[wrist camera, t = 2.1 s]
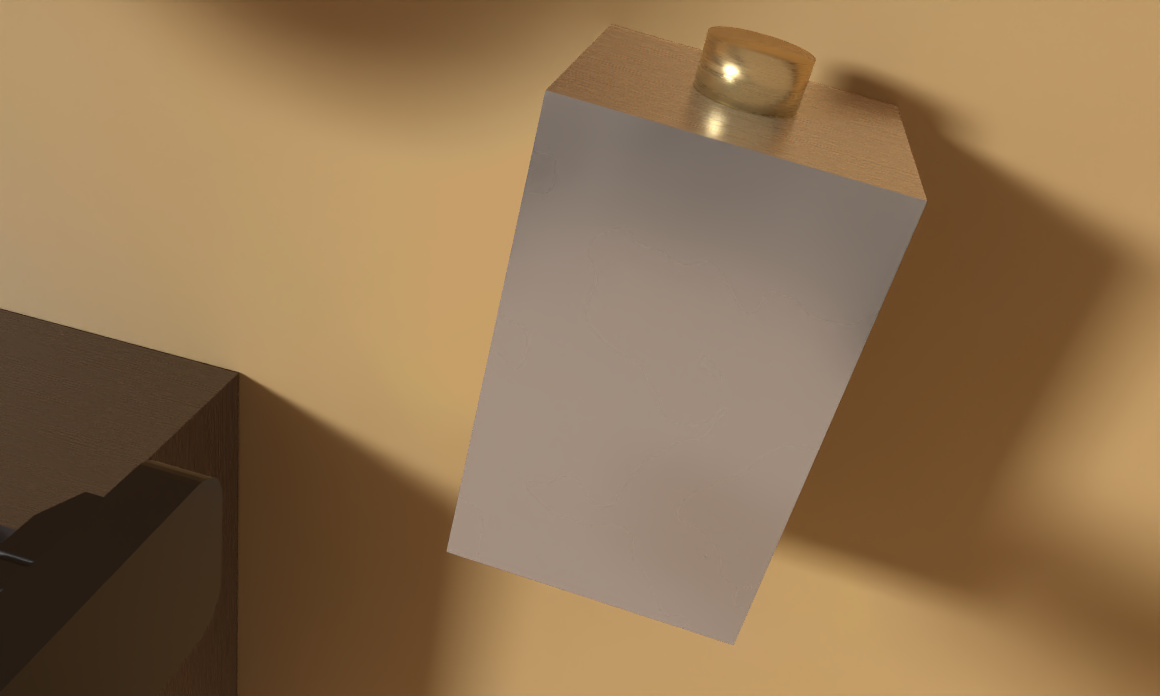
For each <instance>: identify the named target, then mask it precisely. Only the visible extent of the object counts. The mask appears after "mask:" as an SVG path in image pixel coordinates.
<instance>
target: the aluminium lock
mask: <svg viewBox="0 0 1160 696" xmlns="http://www.w3.org/2000/svg"><path fill="white" fill-rule="evenodd" d="M815 61H816V59H815V57H814V56H813V55H812V54H811V53H809V52H807V51H806V50H804V49H802V48H800V47H798V46H796V45H793V44H791V43H789V42H786V41H783V40H780V39H778V38H775V37H771V36H768V35H765V34H761V33H757V32H753V31H749V30H744V29H739V28H733V27H722V26H717V27H711V28H709V30H708V33H707V37H706V40H705V44H704V47H703V50H700V49H696V48H693V47H689V46H686V45H682V44H679V43H675V42H672V41H668V40H665V39H661V38H658V37H654V36H651V35H647V34H644V33H640V32H637V31H633V30H630V29H626V28H623V27H619V26H616V25H612V24H611V25H610V26H609V27H608V28H607V29H606V30H605V31H604V32H603V33H602V34H601V35H600V36H599V37H598V38H597V39H596V40H595V41H594V42H593V43H592V44H591V45H590V46H589V47H588V48H587V49H586V50H585V51H584V52H583V53H582V54H581V55H580V56H579V57H578V58H577V59H576V60H575V61H574V62H573V63H572V64H571V65H570V66H569V67H568V68H567V69H566V70H565V71H564V72H563V73H562V74H561V75H560V76H559V77H558V78H557V79H556V80H555V81H554V82H553V83H552V84H551V85H550V86H549V87H548V88H547V89H546V91H545V96H544V100H543V105H542V109H541V114H540V119H539V123H538V128H537V133H536V137H535V142H534V147H533V151H532V156H531V161H530V165H529V170H528V175H527V179H526V184H525V189H524V193H523V198H522V202H521V207H520V212H519V216H518V221H517V226H516V230H515V235H514V240H513V244H512V249H511V254H510V258H509V263H508V268H507V272H506V277H505V282H504V286H503V291H502V296H501V300H500V305H499V309H498V314H497V319H496V323H495V328H494V333H493V337H492V342H491V347H490V351H489V356H488V361H487V365H486V370H485V375H484V379H483V384H482V389H481V393H480V398H479V402H478V407H477V412H476V416H475V421H474V426H473V430H472V435H471V440H470V444H469V449H468V454H467V458H466V463H465V468H464V472H463V477H462V482H461V486H460V491H459V495H458V500H457V505H456V509H455V514H454V519H453V523H452V528H451V533H450V537H449V542H448V547H447V551H446V552H448V553H452V554H455V555H458V556H461V557H464V558H467V559H470V560H473V561H476V562H479V563H482V564H485V565H488V566H492V567H495V568H498V569H501V570H504V571H507V572H510V573H513V574H516V575H519V576H522V577H525V578H528V579H531V580H535V581H538V582H541V583H544V584H547V585H550V586H553V587H556V588H559V589H562V590H565V591H568V592H571V593H575V594H578V595H581V596H584V597H587V598H590V599H593V600H596V601H599V602H602V603H605V604H608V605H611V606H614V607H618V608H621V609H624V610H627V611H630V612H633V613H636V614H639V615H642V616H645V617H648V618H651V619H654V620H658V621H661V622H664V623H667V624H670V625H673V626H676V627H679V628H682V629H685V630H688V631H691V632H694V633H698V634H701V635H704V636H707V637H710V638H713V639H716V640H719V641H722V642H725V643H728V644H731V645H734V643H735V641H736V639H737V636H738V634H739V632H740V629H741V627H742V625H743V622H744V620H745V618H746V616H747V613H748V611H749V609H750V606H751V604H752V602H753V600H754V597H755V595H756V593H757V590H758V588H759V586H760V584H761V581H762V579H763V577H764V574H765V572H766V570H767V567H768V565H769V563H770V561H771V558H772V556H773V554H774V551H775V549H776V547H777V545H778V542H779V540H780V538H781V535H782V533H783V531H784V528H785V526H786V524H787V522H788V519H789V517H790V515H791V512H792V510H793V508H794V506H795V503H796V501H797V499H798V496H799V494H800V492H801V490H802V487H803V485H804V483H805V480H806V478H807V476H808V473H809V471H810V469H811V467H812V464H813V462H814V460H815V457H816V455H817V453H818V451H819V448H820V446H821V444H822V441H823V439H824V437H825V435H826V432H827V430H828V428H829V425H830V423H831V421H832V418H833V416H834V414H835V412H836V409H837V407H838V405H839V402H840V400H841V398H842V396H843V393H844V391H845V389H846V386H847V384H848V382H849V380H850V377H851V375H852V373H853V370H854V368H855V366H856V363H857V361H858V359H859V357H860V354H861V352H862V350H863V347H864V345H865V343H866V341H867V338H868V336H869V334H870V331H871V329H872V327H873V324H874V322H875V320H876V318H877V315H878V313H879V311H880V308H881V306H882V304H883V302H884V299H885V297H886V295H887V292H888V290H889V288H890V286H891V283H892V281H893V279H894V276H895V274H896V272H897V269H898V267H899V265H900V263H901V260H902V258H903V256H904V253H905V251H906V249H907V247H908V244H909V242H910V240H911V237H912V235H913V233H914V231H915V228H916V226H917V224H918V221H919V219H920V217H921V214H922V212H923V210H924V208H925V205H926V203H927V199H926V195H925V192H924V189H923V186H922V183H921V180H920V177H919V174H918V170H917V167H916V164H915V161H914V158H913V155H912V152H911V148H910V145H909V142H908V139H907V136H906V133H905V130H904V126H903V123H902V120H901V117H900V114H899V111H898V108H897V106H896V105H892V104H889V103H885V102H882V101H878V100H875V99H871V98H868V97H864V96H861V95H857V94H854V93H850V92H847V91H843V90H840V89H836V88H833V87H829V86H826V85H822V84H819V83H815V82H812V81H809V78H810V75H811V72H812V69H813V66H814V64H815Z"/></svg>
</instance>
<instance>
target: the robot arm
mask: <svg viewBox="0 0 1160 696" xmlns="http://www.w3.org/2000/svg"><path fill="white" fill-rule="evenodd" d="M222 498H223V497H222V487H221V484H220V482H219V481H218V480H217V479H216V478H213V477H209V476H206V475H203V474H199V473H196V472H192V471H189V470H185V469H182V468H178V467H175V466H171V465H168V464H165V463H161V462H158V461H154V460H148V461H145V462H143V463H141V464H140V465H138V466H137V467H136V468H135V469H134V470H132V471H131V472H130V473H129V474H128V475H127V476H126V477H125V478H124V479H123V480H122V481H121V482H119V483H118V484H117V485H116V486H115V487H114V488H113V489H112V490H111V491H110V492H109V493H107V494H106V495H105V496H104V497H102V496H98V495H95V494H91V493H88V492H84V493H82V494H79V495H77V496H75V497H73V498H71V499H68V500H66V501H64V502H62V503H60V504H57V505H55V506H53V507H51V508H49V509H46V510H44V511H42V512H40V513H38V514H36V515H34V516H33V517H31V518H30V519H29V520H28V521H27V522H26V523H24V524H23V525H22V526H21V527H20V528H19V529H18V530H16V531H15V532H14V533H13V534H12V535H11V536H9V537H8V538H7V539H6V540H5V541H4V542H2V543H1V544H0V696H158V694H159V693H160V692H161V690H162V689H163V688H164V686H165V685H166V684H167V682H168V681H169V680H170V679H171V677H172V676H173V675H174V673H175V672H176V671H177V669H178V668H179V667H180V666H181V664H182V663H183V662H184V660H185V659H186V658H187V656H188V655H189V654H190V653H191V651H192V650H193V649H194V647H195V646H196V645H197V643H198V642H199V641H200V639H201V638H202V636H203V634H204V633H205V631H206V629H207V627H208V625H209V623H210V621H211V619H212V616H213V614H214V611H215V608H216V605H217V602H218V598H219V594H220V588H221V555H222Z"/></svg>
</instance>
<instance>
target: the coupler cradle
mask: <svg viewBox="0 0 1160 696" xmlns="http://www.w3.org/2000/svg"><path fill="white" fill-rule="evenodd" d="M148 460H154V461H158V462H161V463H165V464H168V465H171V466H175V467H178V468H182V469H185V470H189V471H192V472H196V473H199V474H203V475H206V476H209V477H213V478H216V479H217V480H218V481H219V482H220V484H221V487H222V497H223V498H222V555H221V588H220V594H219V598H218V602H217V605H216V608H215V611H214V614H213V616H212V619H211V621H210V623H209V625H208V627H207V629H206V631H205V633H204V634H203V636H202V638H201V639H200V641H199V642H198V643H197V645H196V646H195V647H194V649H193V650H192V651H191V653H190V654H189V655H188V656H187V658H186V659H185V660H184V662H183V663H182V664H181V666H180V667H179V668H178V669H177V671H176V672H175V673H174V675H173V676H172V677H171V679H170V680H169V681H168V682H167V684H166V685H165V686H164V688H163V689H162V690H161V692H160V693H159V694H158V696H237V541H238V373H237V372H233V371H229V370H226V369H222V368H218V367H214V366H211V365H207V364H203V363H199V362H196V361H192V360H188V359H184V358H181V357H177V356H173V355H170V354H166V353H162V352H158V351H155V350H151V349H147V348H143V347H140V346H136V345H132V344H128V343H125V342H121V341H117V340H114V339H110V338H106V337H102V336H99V335H95V334H91V333H87V332H84V331H80V330H76V329H72V328H69V327H65V326H61V325H57V324H54V323H50V322H46V321H43V320H39V319H35V318H31V317H28V316H24V315H20V314H16V313H13V312H9V311H5V310H1V309H0V544H1V543H2V542H4V541H5V540H6V539H7V538H8V537H9V536H11V535H12V534H13V533H14V532H15V531H16V530H18V529H19V528H20V527H21V526H22V525H23V524H24V523H26V522H27V521H28V520H29V519H30V518H31V517H33V516H34V515H36V514H38V513H40V512H42V511H44V510H46V509H49V508H51V507H53V506H55V505H57V504H60V503H62V502H64V501H66V500H68V499H71V498H73V497H75V496H77V495H79V494H82V493H84V492H88V493H91V494H95V495H98V496H102V497H104V496H105V495H106V494H107V493H109V492H110V491H111V490H112V489H113V488H114V487H115V486H116V485H117V484H118V483H119V482H121V481H122V480H123V479H124V478H125V477H126V476H127V475H128V474H129V473H130V472H131V471H132V470H134V469H135V468H136V467H137V466H138V465H140V464H141V463H143V462H145V461H148Z"/></svg>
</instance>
